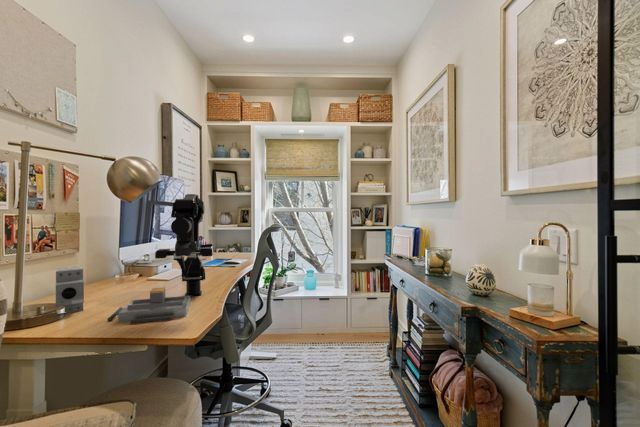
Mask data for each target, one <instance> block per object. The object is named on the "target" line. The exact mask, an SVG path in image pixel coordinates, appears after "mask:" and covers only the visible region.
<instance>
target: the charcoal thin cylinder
mask: <svg viewBox="0 0 640 427" xmlns="http://www.w3.org/2000/svg"><path fill="white" fill-rule="evenodd" d="M171 320H173V317H172V316H165V317H155V318H144V319H133V320H130V321H129V324H130V325H132V324H142V323H143V324H144V323H149V322H151V323H152V322H162V321H171Z"/></svg>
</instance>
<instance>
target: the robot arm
mask: <svg viewBox="0 0 640 427" xmlns="http://www.w3.org/2000/svg"><path fill="white" fill-rule="evenodd" d="M204 203H205V202H204V201H203V200H202V199H200V198H199V194H195V193H191V194H190V193H187V194H185V196H184V197H183V198H175V200H174V201H173V202H172V207H171V215H170V216H171V217H170V218H175V219H174V220H172V222H171V223H170V229H171V232H173V234H175V236H176V241H175V245H174V250H171V249H170V248H158V249H157V250H156V251H155V253H154V257H155V259H166V258H167V257H168V256H170V257H171V256H172V257H173V261H176V262H177V264H178V265H179V267H180V270H181V282H185V284H186V285H185V287H186V290H185V293H184V296H190V297H195V296H202V290H201V289H202V288H201V285H202V283H201V281H205V280H206V270H205V267H204V266H203V262H202V260H201V259H200V257H199V255H200V256H202V257H213V248H212V247H208V246H206V247H200V249H199V240H200V236H199V235H200V227H199V226H200V224H201V222H202V220H203V219H204V218H203V217H204V214H205V204H204ZM185 257H186V259H185Z"/></svg>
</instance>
